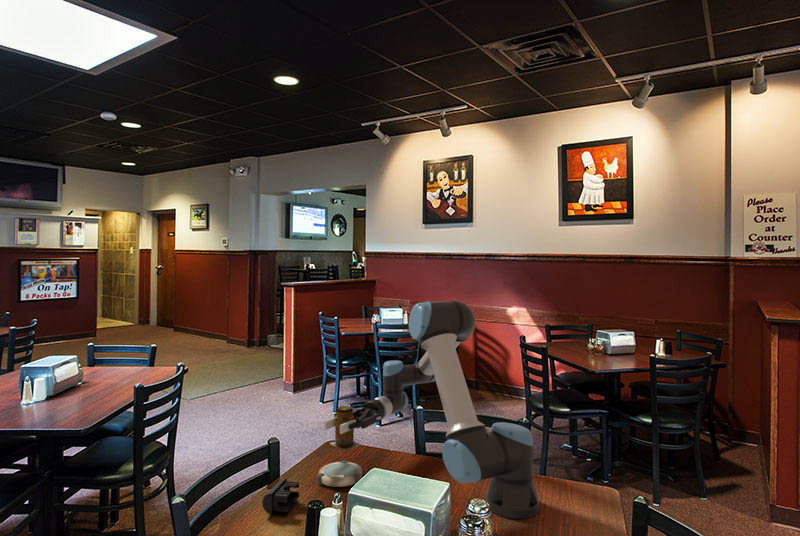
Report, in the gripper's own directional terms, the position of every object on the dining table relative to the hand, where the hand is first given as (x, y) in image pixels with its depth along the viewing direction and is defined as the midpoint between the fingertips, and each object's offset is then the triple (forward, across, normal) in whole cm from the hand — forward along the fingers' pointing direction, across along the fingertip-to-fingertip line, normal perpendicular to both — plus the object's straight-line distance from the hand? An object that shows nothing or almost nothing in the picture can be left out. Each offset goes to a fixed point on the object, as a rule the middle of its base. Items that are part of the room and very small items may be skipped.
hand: (333, 427), depth 151 cm
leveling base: (-4, 0, -18) cm, 18 cm away
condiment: (-5, -1, -7) cm, 9 cm away
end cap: (+20, +1, -18) cm, 27 cm away
